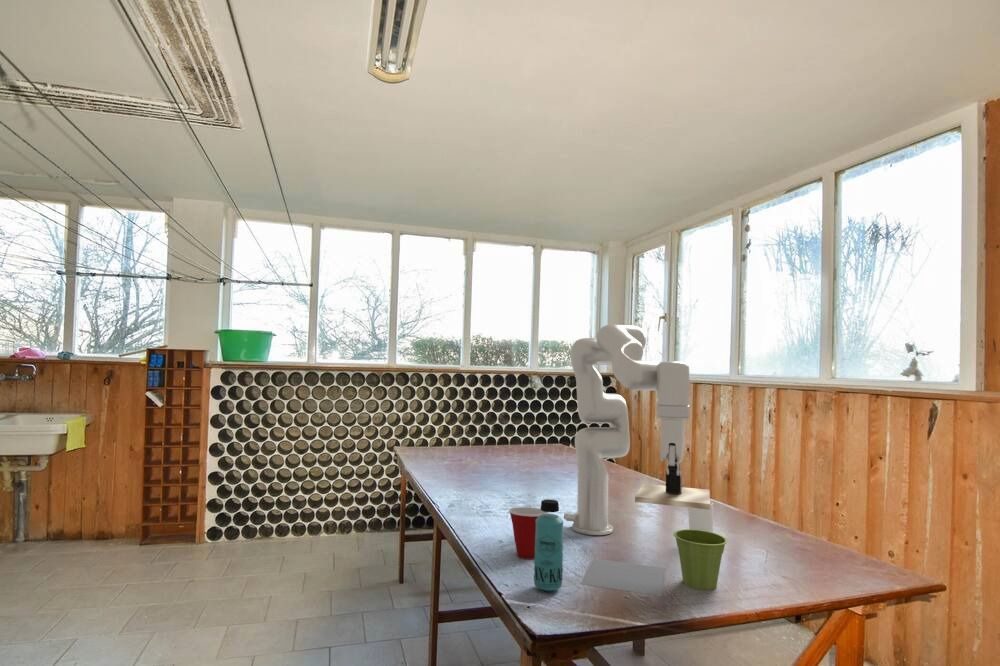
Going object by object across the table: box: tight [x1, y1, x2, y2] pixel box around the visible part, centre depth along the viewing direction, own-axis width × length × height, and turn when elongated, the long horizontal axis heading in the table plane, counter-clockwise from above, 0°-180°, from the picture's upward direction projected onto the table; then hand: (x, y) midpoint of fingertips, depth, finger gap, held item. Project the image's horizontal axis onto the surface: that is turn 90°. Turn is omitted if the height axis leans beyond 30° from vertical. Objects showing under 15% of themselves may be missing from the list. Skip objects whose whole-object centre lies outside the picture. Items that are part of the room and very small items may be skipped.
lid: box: [634, 470, 711, 510], centre depth 126 cm, size 16×16×6 cm
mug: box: [687, 501, 714, 533], centre depth 155 cm, size 10×7×12 cm, turn 149°
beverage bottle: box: [533, 498, 564, 591], centre depth 119 cm, size 6×7×20 cm
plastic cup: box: [508, 506, 550, 560], centre depth 142 cm, size 11×11×12 cm
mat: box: [580, 557, 666, 598], centre depth 127 cm, size 18×18×1 cm
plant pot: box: [672, 528, 728, 591], centre depth 123 cm, size 12×12×11 cm
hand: (673, 489), depth 126 cm, fingers closed on lid, 3 cm apart
